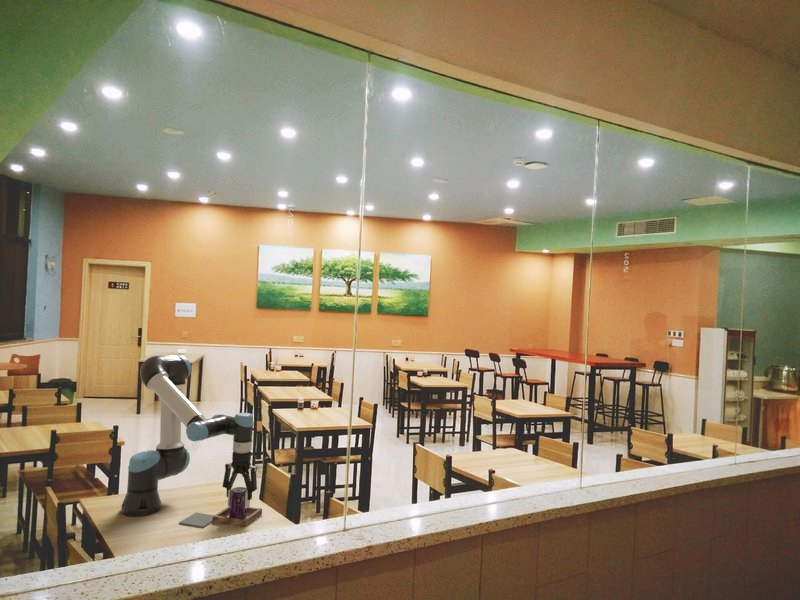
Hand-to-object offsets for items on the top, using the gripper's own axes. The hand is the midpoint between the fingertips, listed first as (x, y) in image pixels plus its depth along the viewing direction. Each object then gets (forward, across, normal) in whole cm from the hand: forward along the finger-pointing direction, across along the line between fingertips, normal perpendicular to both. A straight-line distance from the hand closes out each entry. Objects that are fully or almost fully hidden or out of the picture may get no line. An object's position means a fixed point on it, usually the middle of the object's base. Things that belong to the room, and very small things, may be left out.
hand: (238, 506), depth 213 cm
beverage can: (+5, 0, 0) cm, 5 cm away
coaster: (+5, -13, -8) cm, 16 cm away
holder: (+5, 0, 0) cm, 5 cm away
